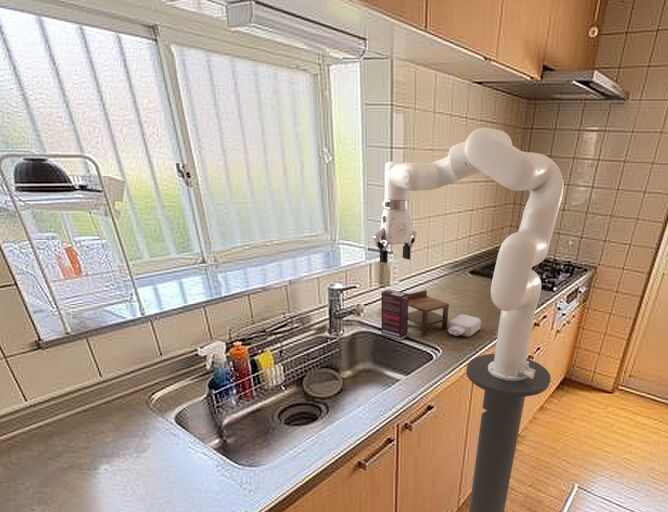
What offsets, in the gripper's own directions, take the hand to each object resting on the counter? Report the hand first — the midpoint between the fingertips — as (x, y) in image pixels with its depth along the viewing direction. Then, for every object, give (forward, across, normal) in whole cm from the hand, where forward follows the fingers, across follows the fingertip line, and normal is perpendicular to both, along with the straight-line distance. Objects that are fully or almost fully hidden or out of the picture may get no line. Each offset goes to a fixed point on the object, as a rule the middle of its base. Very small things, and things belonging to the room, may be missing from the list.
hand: (395, 260), depth 139 cm
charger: (+27, +21, -14) cm, 37 cm away
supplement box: (+27, 0, 0) cm, 27 cm away
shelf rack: (+27, +14, -1) cm, 30 cm away
